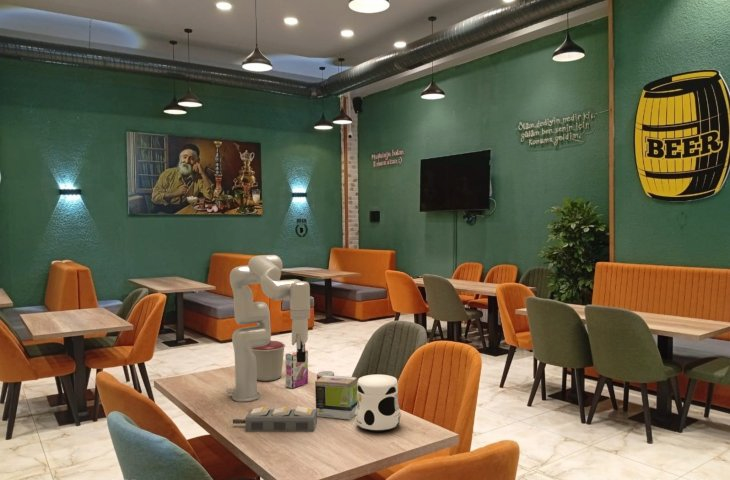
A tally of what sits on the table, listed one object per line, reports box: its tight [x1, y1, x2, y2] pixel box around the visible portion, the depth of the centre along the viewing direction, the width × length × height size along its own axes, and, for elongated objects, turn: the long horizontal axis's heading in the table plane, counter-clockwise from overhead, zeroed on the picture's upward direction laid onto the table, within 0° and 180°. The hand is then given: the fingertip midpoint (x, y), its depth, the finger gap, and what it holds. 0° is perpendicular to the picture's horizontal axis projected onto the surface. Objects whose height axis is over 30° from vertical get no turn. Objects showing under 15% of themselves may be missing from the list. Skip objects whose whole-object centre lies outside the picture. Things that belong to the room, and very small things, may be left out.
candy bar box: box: [285, 349, 309, 390], centre depth 260 cm, size 11×5×16 cm, turn 144°
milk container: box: [354, 374, 401, 432], centre depth 206 cm, size 17×17×18 cm
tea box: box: [314, 375, 358, 421], centre depth 220 cm, size 15×10×15 cm
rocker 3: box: [295, 405, 314, 416], centre depth 207 cm, size 6×5×2 cm
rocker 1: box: [250, 405, 270, 416], centre depth 208 cm, size 6×5×2 cm
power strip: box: [232, 408, 318, 432], centre depth 207 cm, size 32×9×5 cm, turn 87°
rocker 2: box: [272, 405, 292, 416], centre depth 207 cm, size 6×5×2 cm
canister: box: [251, 339, 286, 382], centre depth 272 cm, size 18×18×21 cm
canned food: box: [316, 370, 335, 380], centre depth 241 cm, size 8×8×11 cm
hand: (301, 361), depth 206 cm, fingers closed
